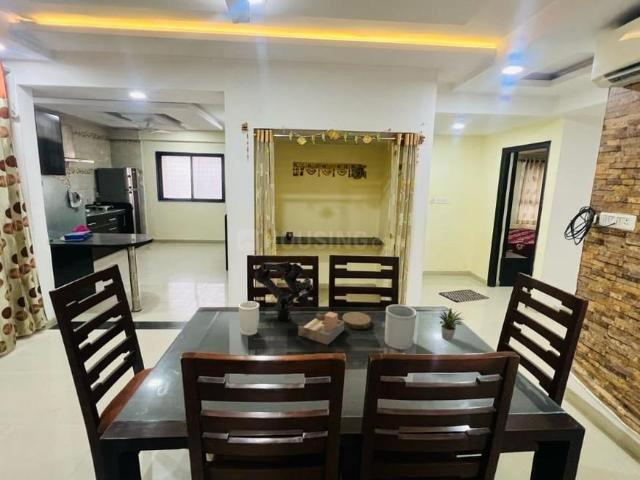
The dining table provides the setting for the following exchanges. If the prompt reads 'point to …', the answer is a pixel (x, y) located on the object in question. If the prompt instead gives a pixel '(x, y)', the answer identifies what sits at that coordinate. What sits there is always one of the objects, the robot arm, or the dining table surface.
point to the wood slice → (356, 320)
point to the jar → (248, 317)
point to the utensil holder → (399, 326)
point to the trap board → (312, 327)
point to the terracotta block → (330, 321)
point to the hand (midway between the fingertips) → (309, 306)
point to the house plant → (449, 324)
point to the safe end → (328, 337)
